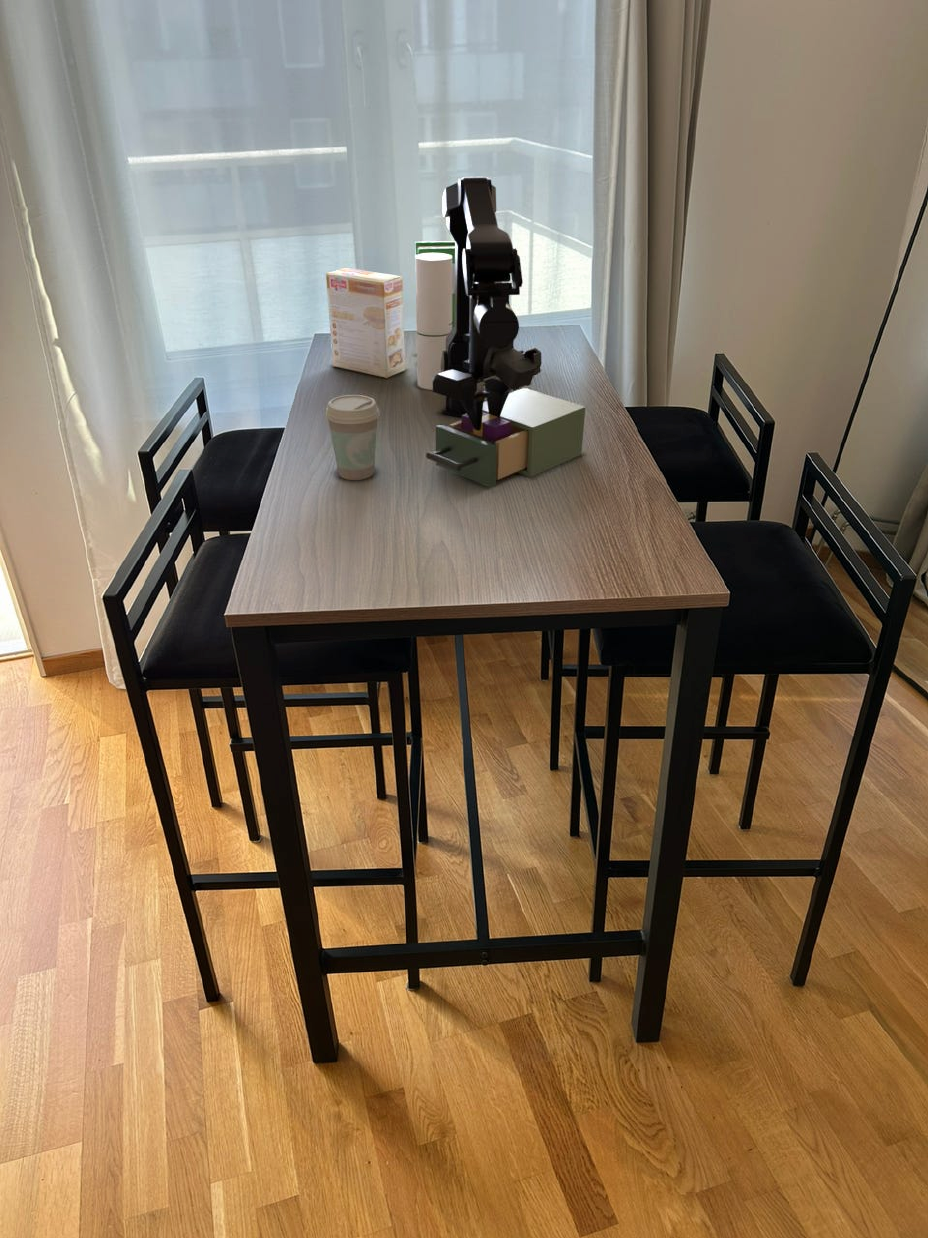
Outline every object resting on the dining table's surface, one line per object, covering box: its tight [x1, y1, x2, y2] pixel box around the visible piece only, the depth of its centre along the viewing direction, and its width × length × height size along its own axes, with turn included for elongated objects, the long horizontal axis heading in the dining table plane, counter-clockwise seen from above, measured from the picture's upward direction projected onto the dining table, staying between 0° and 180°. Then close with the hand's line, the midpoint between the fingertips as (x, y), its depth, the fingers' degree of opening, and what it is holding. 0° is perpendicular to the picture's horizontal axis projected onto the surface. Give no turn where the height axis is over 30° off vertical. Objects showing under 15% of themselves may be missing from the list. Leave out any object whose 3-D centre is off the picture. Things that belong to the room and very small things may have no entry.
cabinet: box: [482, 387, 586, 478], centre depth 151 cm, size 14×14×9 cm
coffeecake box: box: [325, 267, 406, 379], centre depth 187 cm, size 15×7×20 cm, turn 58°
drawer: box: [425, 420, 529, 488], centre depth 144 cm, size 17×12×7 cm
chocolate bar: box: [460, 412, 511, 441], centre depth 143 cm, size 8×4×2 cm, turn 46°
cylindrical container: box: [414, 253, 452, 391], centre depth 178 cm, size 7×7×25 cm
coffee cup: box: [325, 394, 381, 481], centre depth 143 cm, size 9×8×12 cm
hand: (485, 426), depth 143 cm, fingers closed on chocolate bar, 4 cm apart
